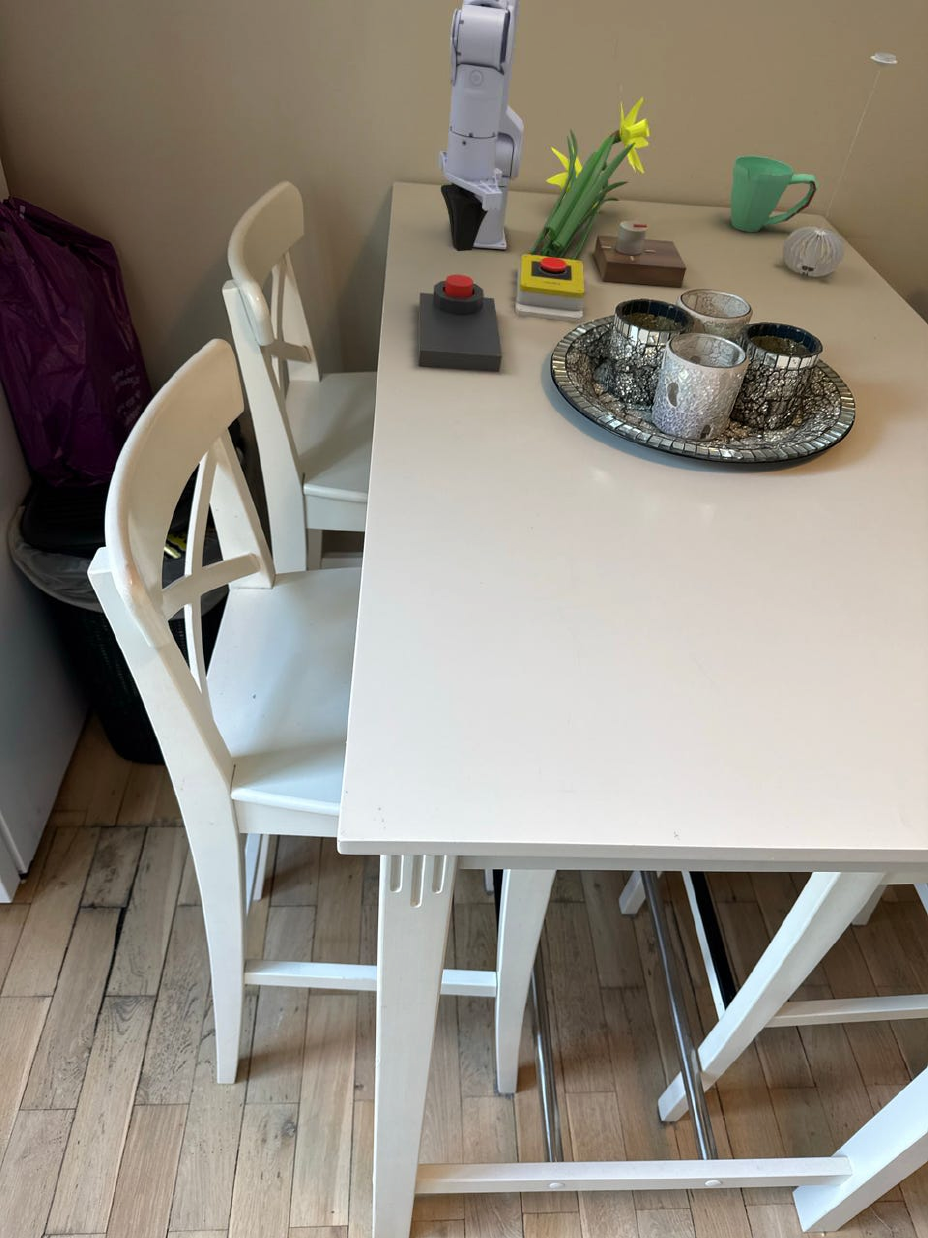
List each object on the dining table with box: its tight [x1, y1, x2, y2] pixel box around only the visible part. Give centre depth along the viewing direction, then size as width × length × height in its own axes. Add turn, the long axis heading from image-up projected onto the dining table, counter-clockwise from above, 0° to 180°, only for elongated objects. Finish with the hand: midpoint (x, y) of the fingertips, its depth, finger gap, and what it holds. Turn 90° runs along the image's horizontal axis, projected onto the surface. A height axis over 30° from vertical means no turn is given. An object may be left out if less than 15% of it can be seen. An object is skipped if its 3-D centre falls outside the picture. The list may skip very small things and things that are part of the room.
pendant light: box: [782, 52, 898, 278], centre depth 132 cm, size 9×9×30 cm
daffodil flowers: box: [528, 85, 651, 260], centre depth 141 cm, size 17×15×35 cm
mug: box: [730, 155, 819, 233], centre depth 150 cm, size 15×10×10 cm
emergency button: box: [514, 253, 585, 323], centre depth 124 cm, size 9×4×15 cm
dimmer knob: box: [615, 220, 648, 255], centre depth 132 cm, size 4×4×4 cm
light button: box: [445, 274, 474, 298], centre depth 115 cm, size 4×4×2 cm
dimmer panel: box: [593, 234, 687, 288], centre depth 134 cm, size 10×12×3 cm
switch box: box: [418, 280, 503, 373], centre depth 113 cm, size 17×10×4 cm, turn 2°
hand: (462, 248), depth 111 cm, fingers closed
